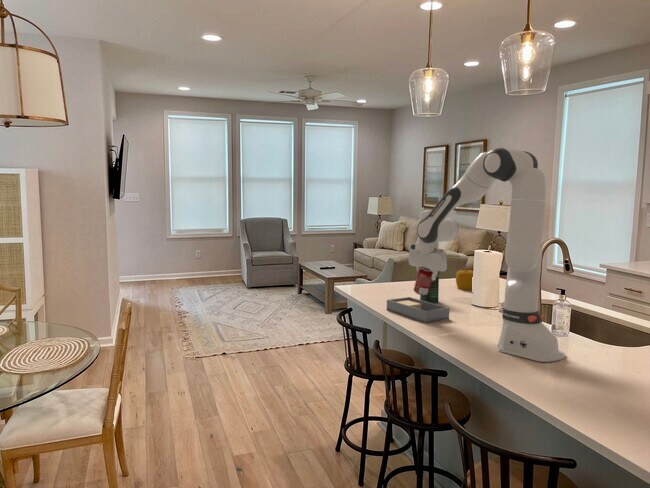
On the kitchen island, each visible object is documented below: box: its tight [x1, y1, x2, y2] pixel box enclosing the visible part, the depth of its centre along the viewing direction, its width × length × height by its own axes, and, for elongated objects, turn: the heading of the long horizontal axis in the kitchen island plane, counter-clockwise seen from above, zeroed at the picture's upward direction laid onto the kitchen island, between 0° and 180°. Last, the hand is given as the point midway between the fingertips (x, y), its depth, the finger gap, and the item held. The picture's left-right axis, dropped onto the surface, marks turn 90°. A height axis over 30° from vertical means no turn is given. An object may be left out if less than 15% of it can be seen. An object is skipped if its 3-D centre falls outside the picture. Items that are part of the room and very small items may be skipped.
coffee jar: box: [419, 271, 440, 304], centre depth 242 cm, size 10×8×19 cm
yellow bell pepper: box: [455, 269, 474, 291], centre depth 272 cm, size 11×11×13 cm
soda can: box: [412, 266, 433, 296], centre depth 214 cm, size 7×7×12 cm
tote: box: [386, 296, 450, 324], centre depth 219 cm, size 26×14×5 cm, turn 32°
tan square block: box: [398, 300, 421, 309], centre depth 224 cm, size 9×9×3 cm
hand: (426, 278), depth 213 cm, fingers closed on soda can, 6 cm apart
